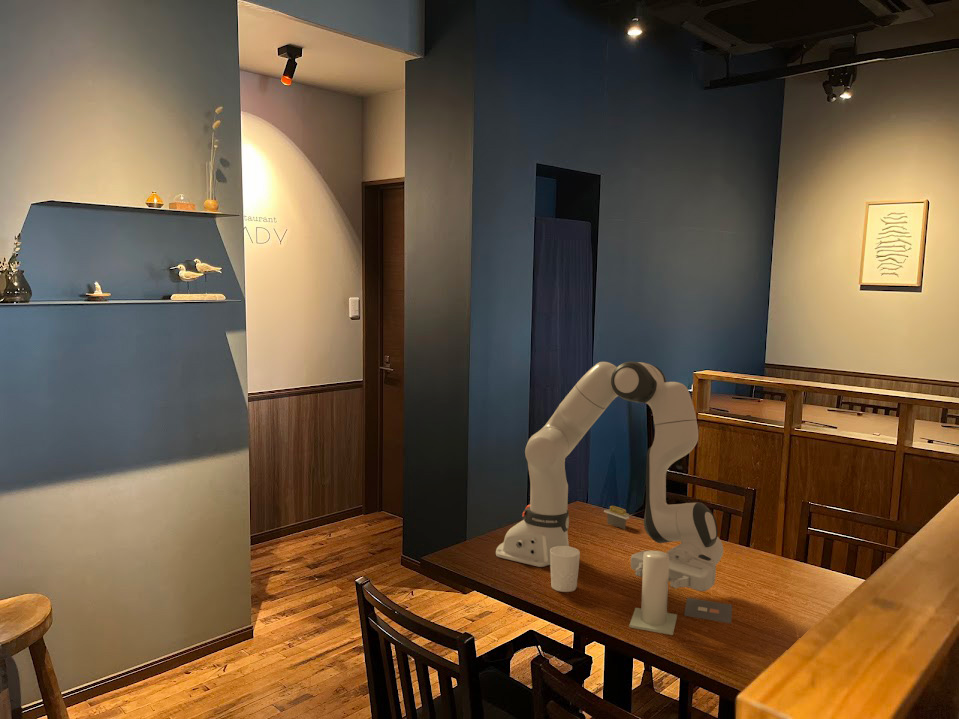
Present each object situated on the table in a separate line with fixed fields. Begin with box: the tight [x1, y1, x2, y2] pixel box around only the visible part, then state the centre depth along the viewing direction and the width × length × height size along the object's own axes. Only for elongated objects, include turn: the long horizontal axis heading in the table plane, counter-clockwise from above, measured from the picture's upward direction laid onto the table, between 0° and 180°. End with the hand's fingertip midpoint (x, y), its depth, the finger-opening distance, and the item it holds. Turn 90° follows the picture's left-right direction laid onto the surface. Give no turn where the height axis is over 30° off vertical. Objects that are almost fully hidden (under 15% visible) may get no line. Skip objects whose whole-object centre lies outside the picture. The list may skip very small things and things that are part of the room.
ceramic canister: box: [640, 550, 669, 625], centre depth 172 cm, size 6×6×16 cm
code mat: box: [683, 597, 733, 624], centre depth 180 cm, size 11×11×1 cm
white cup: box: [549, 545, 581, 593], centre depth 192 cm, size 8×8×10 cm
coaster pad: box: [628, 607, 678, 636], centre depth 173 cm, size 10×10×1 cm
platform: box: [603, 505, 630, 531], centre depth 243 cm, size 12×18×7 cm, turn 38°
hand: (655, 578), depth 171 cm, fingers open, 8 cm apart
